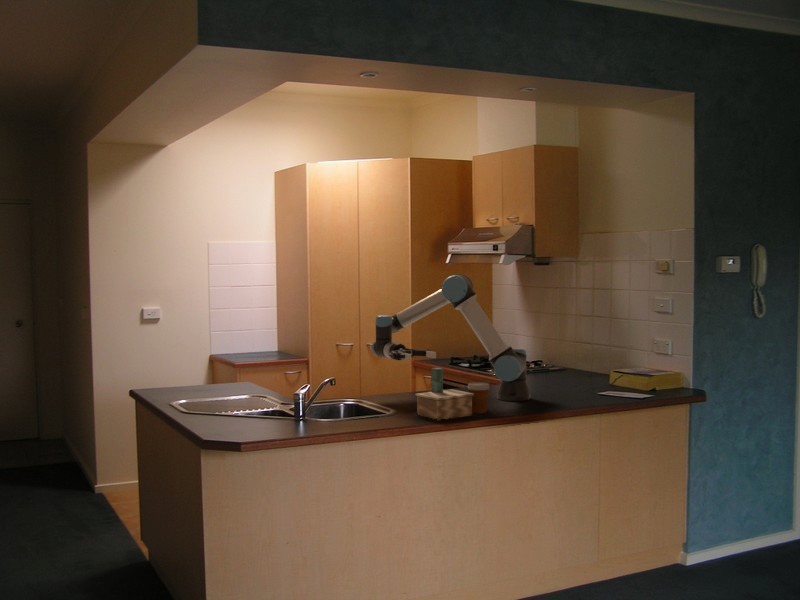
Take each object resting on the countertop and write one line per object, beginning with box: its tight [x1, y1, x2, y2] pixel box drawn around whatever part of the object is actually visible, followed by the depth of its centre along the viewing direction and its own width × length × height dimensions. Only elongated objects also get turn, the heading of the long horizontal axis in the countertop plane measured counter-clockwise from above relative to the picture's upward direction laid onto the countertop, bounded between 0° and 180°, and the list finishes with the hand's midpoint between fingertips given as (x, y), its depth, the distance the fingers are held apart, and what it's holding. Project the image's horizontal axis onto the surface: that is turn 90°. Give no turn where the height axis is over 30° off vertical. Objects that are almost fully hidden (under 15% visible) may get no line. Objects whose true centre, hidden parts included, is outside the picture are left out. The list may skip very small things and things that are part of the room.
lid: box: [414, 367, 474, 400], centre depth 352 cm, size 19×15×11 cm
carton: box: [416, 396, 473, 421], centre depth 353 cm, size 18×14×8 cm
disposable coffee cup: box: [467, 381, 491, 414], centre depth 359 cm, size 10×10×12 cm
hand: (423, 356), depth 368 cm, fingers open, 13 cm apart
